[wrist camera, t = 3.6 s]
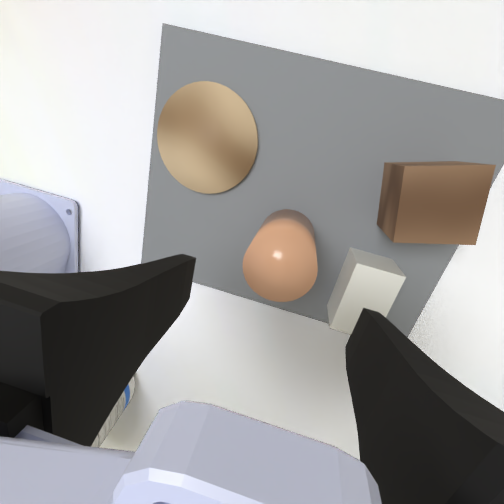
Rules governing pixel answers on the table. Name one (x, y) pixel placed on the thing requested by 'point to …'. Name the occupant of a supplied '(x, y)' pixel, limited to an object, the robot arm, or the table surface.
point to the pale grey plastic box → (363, 288)
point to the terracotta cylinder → (282, 257)
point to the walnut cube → (434, 201)
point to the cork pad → (207, 137)
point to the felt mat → (312, 164)
